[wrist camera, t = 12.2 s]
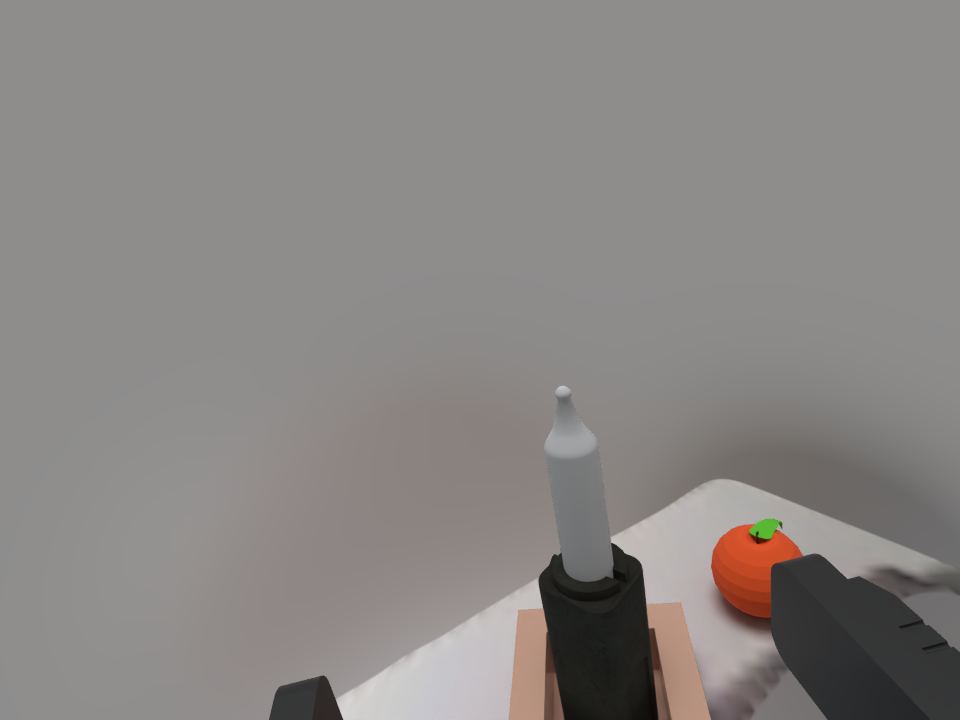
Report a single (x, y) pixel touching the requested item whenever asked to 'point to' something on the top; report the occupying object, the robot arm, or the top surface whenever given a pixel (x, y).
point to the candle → (592, 588)
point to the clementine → (750, 564)
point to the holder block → (672, 657)
